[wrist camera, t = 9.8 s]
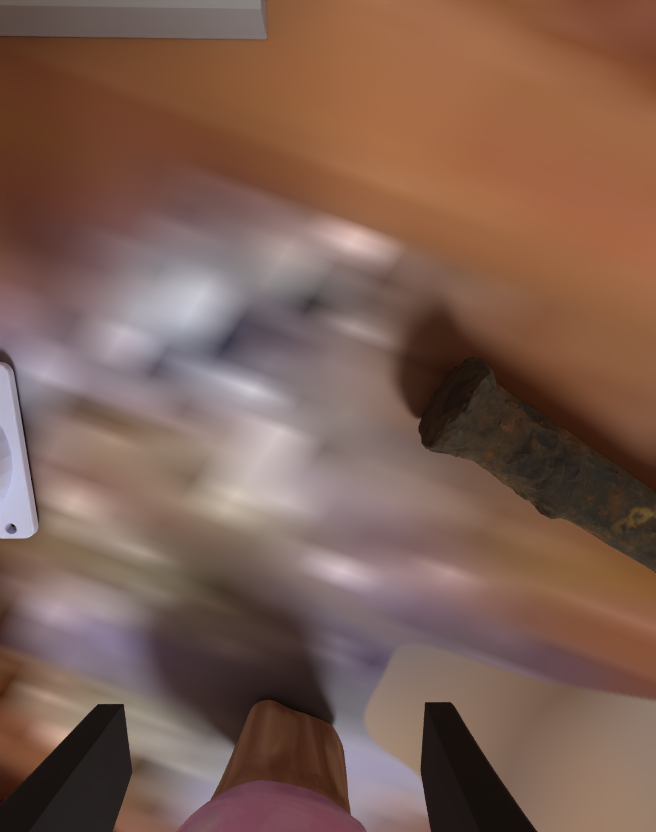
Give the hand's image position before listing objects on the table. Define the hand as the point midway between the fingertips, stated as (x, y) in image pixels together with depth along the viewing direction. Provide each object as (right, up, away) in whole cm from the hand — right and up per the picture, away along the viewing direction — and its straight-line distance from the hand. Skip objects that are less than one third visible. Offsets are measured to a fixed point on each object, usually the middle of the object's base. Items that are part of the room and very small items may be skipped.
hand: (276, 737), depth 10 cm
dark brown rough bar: (+14, +4, +10) cm, 18 cm away
